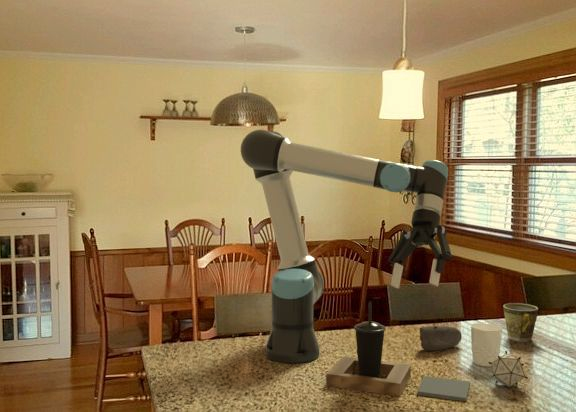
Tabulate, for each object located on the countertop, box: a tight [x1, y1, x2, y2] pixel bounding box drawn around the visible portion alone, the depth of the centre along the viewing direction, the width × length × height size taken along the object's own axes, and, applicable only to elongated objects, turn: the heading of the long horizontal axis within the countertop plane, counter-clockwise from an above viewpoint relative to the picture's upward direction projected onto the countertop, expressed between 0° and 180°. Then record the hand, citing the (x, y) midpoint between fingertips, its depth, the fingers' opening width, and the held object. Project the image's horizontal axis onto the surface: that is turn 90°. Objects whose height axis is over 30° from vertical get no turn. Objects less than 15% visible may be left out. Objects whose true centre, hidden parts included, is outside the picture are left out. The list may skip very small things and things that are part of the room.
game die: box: [488, 350, 529, 391], centre depth 146 cm, size 9×8×10 cm
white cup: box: [470, 322, 503, 368], centre depth 163 cm, size 8×8×10 cm
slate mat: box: [416, 375, 471, 402], centre depth 144 cm, size 11×11×1 cm
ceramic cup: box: [502, 302, 539, 343], centre depth 184 cm, size 13×10×10 cm
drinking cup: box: [353, 300, 386, 378], centre depth 149 cm, size 8×8×20 cm
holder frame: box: [325, 356, 412, 397], centre depth 149 cm, size 18×14×3 cm
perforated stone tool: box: [419, 325, 463, 352], centre depth 175 cm, size 15×5×7 cm, turn 111°
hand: (413, 285), depth 160 cm, fingers open, 13 cm apart
